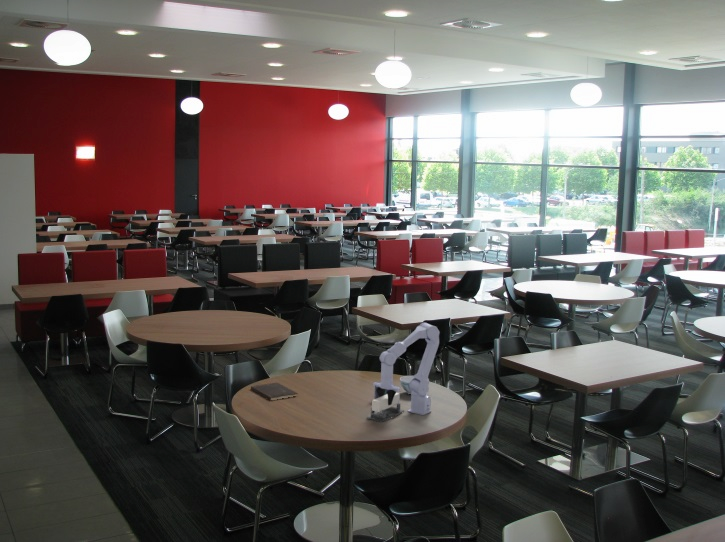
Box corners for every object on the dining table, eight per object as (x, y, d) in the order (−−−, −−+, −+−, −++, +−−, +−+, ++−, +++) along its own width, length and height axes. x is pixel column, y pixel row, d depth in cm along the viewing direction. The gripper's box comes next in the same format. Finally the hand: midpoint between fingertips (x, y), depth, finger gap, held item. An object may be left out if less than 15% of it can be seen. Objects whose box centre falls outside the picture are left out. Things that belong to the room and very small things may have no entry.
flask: (373, 400, 379) (374, 380, 378) (375, 398, 382) (376, 378, 380) (389, 403, 375) (390, 382, 374) (392, 401, 378) (392, 381, 376)
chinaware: (428, 397, 386) (428, 383, 385) (399, 397, 386) (400, 382, 385) (426, 389, 401) (426, 376, 400) (398, 388, 401) (399, 375, 400)
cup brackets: (403, 412, 361) (404, 402, 360) (381, 422, 345) (381, 412, 344) (389, 408, 366) (389, 399, 365) (366, 418, 350) (366, 408, 349)
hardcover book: (277, 386, 401) (277, 382, 400) (297, 397, 382) (297, 393, 381) (250, 390, 392) (250, 386, 391) (270, 401, 373) (270, 397, 372)
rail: (399, 403, 361) (399, 393, 360) (378, 412, 346) (379, 401, 346) (392, 401, 363) (392, 391, 363) (371, 410, 349) (372, 400, 348)
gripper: (369, 375, 354) (368, 402, 355) (394, 380, 345) (393, 408, 347) (378, 372, 359) (377, 399, 361) (402, 377, 351) (401, 405, 353)
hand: (385, 403), depth 354 cm, fingers closed on rail, 4 cm apart
